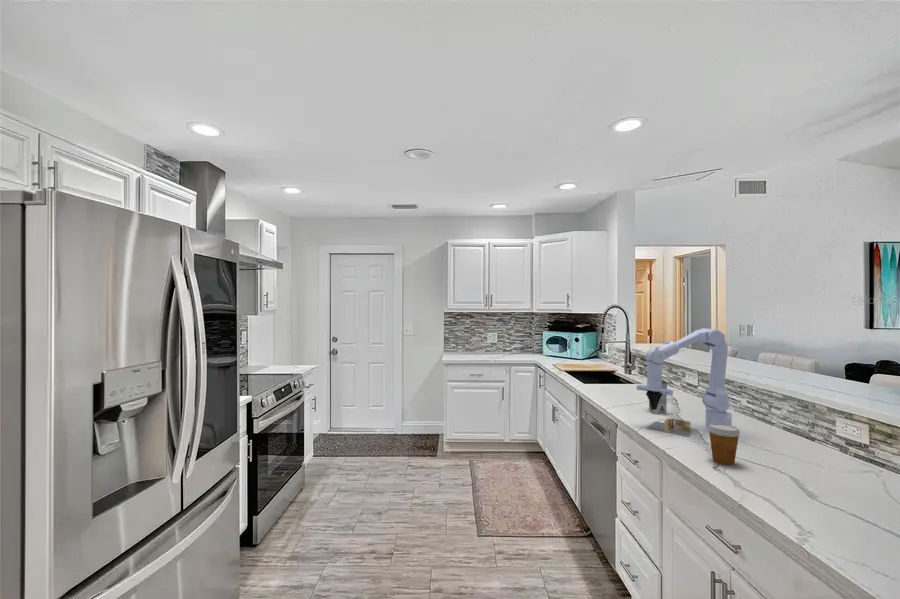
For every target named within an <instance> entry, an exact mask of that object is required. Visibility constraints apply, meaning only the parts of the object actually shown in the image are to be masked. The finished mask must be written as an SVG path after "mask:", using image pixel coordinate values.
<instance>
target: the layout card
mask: <svg viewBox="0 0 900 599" xmlns="http://www.w3.org/2000/svg"><path fill="white" fill-rule="evenodd" d="M645 429H646V430H647V429H648V430H652V431H657V432H662V433H665V434H666V433H667V434H671V435H677V436H682V437H687V438H689V437H690V436H692V435H693V434H694V433H695V432H697V431H698V430H699V429H697V428H692V427H691V432H686V431H681V430H676V429H674V428H672V429H671V430H669V431H667V432H666V431H665V422H661V421H654V422H652V423H650V424H649V425H647V426H646V427H645Z"/></svg>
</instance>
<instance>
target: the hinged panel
mask: <svg viewBox="0 0 900 599" xmlns="http://www.w3.org/2000/svg"><path fill="white" fill-rule="evenodd" d="M674 419H675V418H674V417H668V418H666V419H665V420H664V421H663V423H665V431H666V432H667V431H669V430H671V429H672V428H674ZM666 432H665V433H666Z"/></svg>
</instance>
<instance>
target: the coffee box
mask: <svg viewBox="0 0 900 599" xmlns="http://www.w3.org/2000/svg"><path fill="white" fill-rule="evenodd" d="M662 388H665V389H668V382H666V381H665V380H664V379H663V378H662ZM667 395H668V394H663V395H662V396H661V398H660V400H659V402H658V405H657V409H656V410H653V409H651V404H650V401H649V400H648V410H649V411H650V412H651V413H652V414H653V415H660V414H663V415H664V416H667V405H668V404H667V402H668V400H667V399H668V396H667ZM663 415H662V416H663Z"/></svg>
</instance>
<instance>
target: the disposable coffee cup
mask: <svg viewBox="0 0 900 599" xmlns="http://www.w3.org/2000/svg"><path fill="white" fill-rule="evenodd" d="M708 430H709V431H708V433H709V440H710V448H711V456H712V461H713V462H715V463H716V464H719V465H724V464H725V466H732V465H735V461H736V457H737V456H736V455H737V449H738V445H739V444H738V443H739V438H740V435H741V431H740V428H738V427H737V426H734V425H732V426H731V425H727V424H718V423H713V424H710V425H709V427H708Z"/></svg>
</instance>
